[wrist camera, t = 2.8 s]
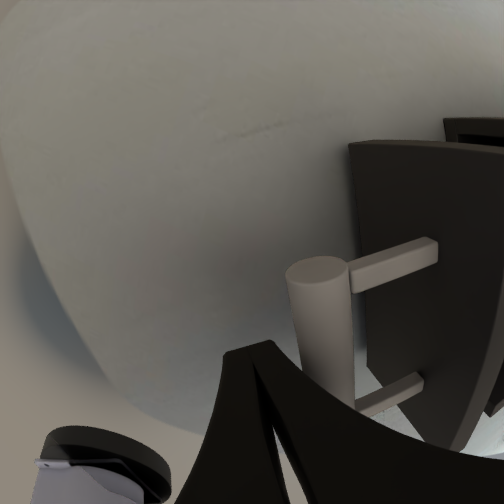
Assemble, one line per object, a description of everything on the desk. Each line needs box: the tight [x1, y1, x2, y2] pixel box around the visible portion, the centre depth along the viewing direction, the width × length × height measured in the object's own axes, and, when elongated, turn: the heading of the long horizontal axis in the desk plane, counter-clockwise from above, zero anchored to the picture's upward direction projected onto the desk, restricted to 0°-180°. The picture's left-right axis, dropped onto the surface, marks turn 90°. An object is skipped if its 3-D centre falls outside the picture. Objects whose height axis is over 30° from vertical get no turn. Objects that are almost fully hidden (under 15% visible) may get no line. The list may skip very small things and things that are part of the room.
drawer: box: [285, 140, 504, 452], centre depth 9 cm, size 17×10×7 cm, turn 103°
